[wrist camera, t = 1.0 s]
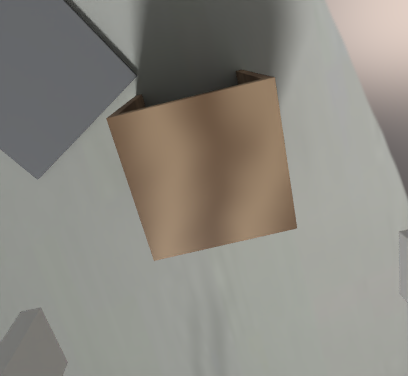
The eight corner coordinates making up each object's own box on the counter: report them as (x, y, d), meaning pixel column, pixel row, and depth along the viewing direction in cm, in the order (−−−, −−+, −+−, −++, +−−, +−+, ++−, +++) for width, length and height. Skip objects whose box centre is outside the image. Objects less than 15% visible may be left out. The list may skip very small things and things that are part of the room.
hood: (164, 193, 38) (154, 260, 25) (135, 95, 34) (106, 118, 21) (260, 171, 37) (297, 228, 25) (241, 69, 33) (274, 77, 21)
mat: (-93, 68, 32) (-98, 68, 31) (4, -62, 29) (1, -64, 28) (39, 177, 36) (37, 179, 36) (137, 75, 33) (136, 76, 32)
